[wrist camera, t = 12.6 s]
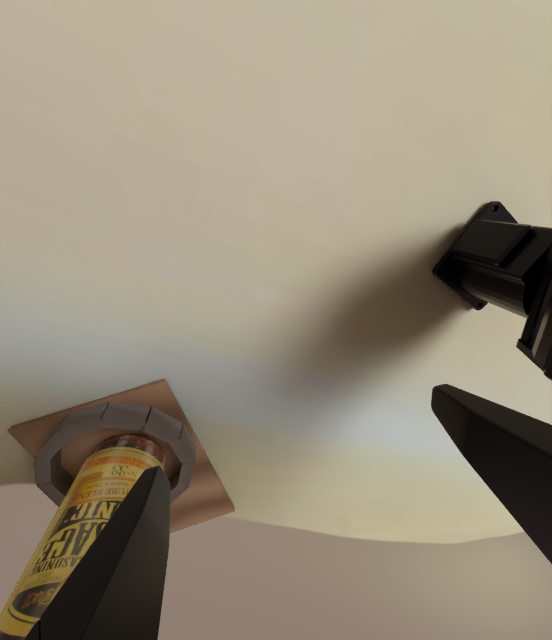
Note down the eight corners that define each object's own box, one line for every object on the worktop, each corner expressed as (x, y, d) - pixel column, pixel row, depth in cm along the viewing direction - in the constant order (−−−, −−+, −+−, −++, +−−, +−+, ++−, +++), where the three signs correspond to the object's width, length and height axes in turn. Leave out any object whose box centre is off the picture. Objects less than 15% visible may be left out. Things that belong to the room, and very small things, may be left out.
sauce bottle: (177, 436, 24) (61, 1114, 6) (156, 484, 26) (22, 1109, 8) (94, 420, 22) (-427, 1376, 4) (78, 474, 24) (-327, 1285, 6)
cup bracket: (234, 507, 30) (235, 527, 28) (124, 544, 29) (118, 567, 28) (164, 378, 22) (160, 395, 20) (11, 426, 21) (-8, 448, 20)
